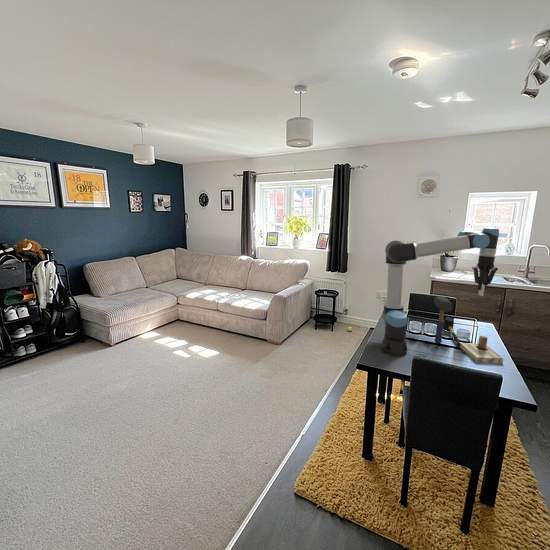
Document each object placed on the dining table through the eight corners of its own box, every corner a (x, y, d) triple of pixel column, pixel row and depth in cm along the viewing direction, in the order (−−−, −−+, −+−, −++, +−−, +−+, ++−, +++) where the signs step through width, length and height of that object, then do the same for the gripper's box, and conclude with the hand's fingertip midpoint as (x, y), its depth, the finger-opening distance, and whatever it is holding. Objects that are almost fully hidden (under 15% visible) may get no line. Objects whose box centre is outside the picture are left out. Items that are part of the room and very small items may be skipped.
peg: (478, 354, 176) (481, 338, 174) (475, 350, 180) (477, 335, 178) (486, 354, 176) (489, 338, 174) (482, 351, 180) (485, 335, 178)
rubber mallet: (448, 347, 184) (454, 301, 178) (435, 347, 185) (441, 300, 179) (440, 339, 196) (446, 295, 190) (428, 338, 197) (433, 294, 191)
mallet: (464, 348, 184) (466, 333, 182) (453, 347, 186) (455, 332, 184) (451, 329, 212) (452, 317, 210) (441, 328, 213) (443, 316, 211)
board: (475, 362, 167) (476, 357, 167) (459, 347, 185) (460, 342, 184) (502, 363, 166) (503, 358, 165) (483, 348, 184) (484, 343, 183)
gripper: (478, 256, 166) (472, 296, 172) (503, 256, 165) (496, 297, 170) (471, 254, 174) (465, 293, 179) (495, 254, 172) (488, 293, 178)
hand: (480, 295), depth 175 cm, fingers closed
